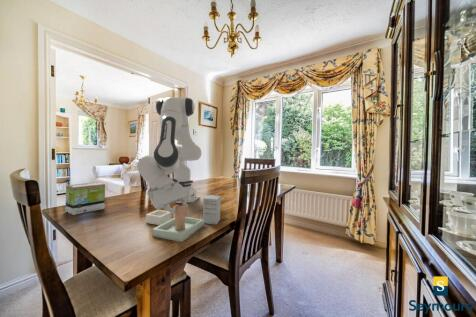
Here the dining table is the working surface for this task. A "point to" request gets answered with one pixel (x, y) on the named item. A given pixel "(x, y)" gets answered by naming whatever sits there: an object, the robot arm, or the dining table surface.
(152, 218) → the white square dish
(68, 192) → the tea box
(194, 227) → the tray
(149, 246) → the dining table surface
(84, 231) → the dining table surface
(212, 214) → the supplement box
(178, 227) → the terracotta jar
